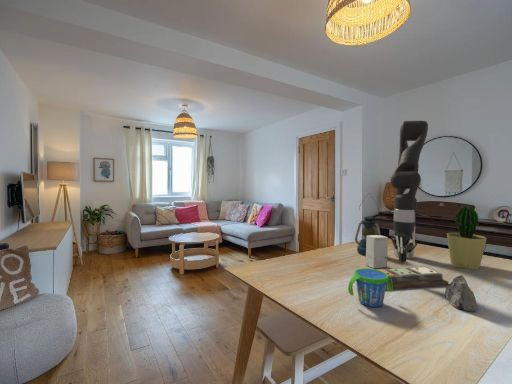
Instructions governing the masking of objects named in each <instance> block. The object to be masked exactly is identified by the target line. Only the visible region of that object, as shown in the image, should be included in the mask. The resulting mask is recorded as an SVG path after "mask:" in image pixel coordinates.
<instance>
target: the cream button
mask: <svg viewBox="0 0 512 384" xmlns="http://www.w3.org/2000/svg"><path fill="white" fill-rule="evenodd" d="M417 267H418V268H410V267H409V268H410V269H412V270H414V271H416V272H419V273H421V274H438V271H436V270H434V269H431V268H429V267H427V268H425V267H426V266H417ZM428 268H429V269H428ZM430 269H431V270H430ZM433 270H434V271H433ZM435 271H436V272H435Z"/></svg>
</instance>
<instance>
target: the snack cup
mask: <svg viewBox="0 0 512 384" xmlns="http://www.w3.org/2000/svg"><path fill="white" fill-rule="evenodd" d="M375 269H376V268H374V269H373V268H358V269H356V270H355V271H354V272H353V273H354V274H353V276H352V277H351V278H350V280H349V283H348V288H347V290H348V293H349V295H350V296H354V288H353V287H354V286H353V284H354V283H355V282H356V292H357V298H358V301H359V302H360V304H362V305H364V306H367V307H371V308H379V307H382V306H383V303H384V300H385V294H386V284H387V291H388V292H389V293H391V292H393V290H394V289H393V283H392V279H391V277H390V276H388V275H387V274H386V273H384V272H382V271H379V270H375Z"/></svg>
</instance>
